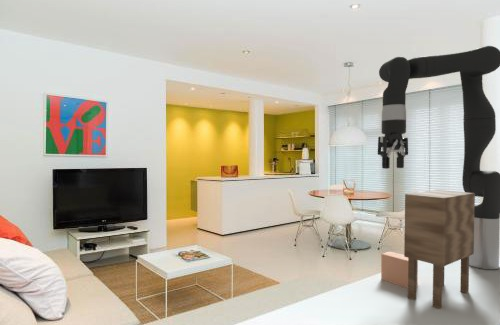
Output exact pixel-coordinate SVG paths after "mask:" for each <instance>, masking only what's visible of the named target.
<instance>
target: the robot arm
mask: <svg viewBox="0 0 500 325" xmlns="http://www.w3.org/2000/svg"><path fill="white" fill-rule="evenodd" d="M498 68H500V49H499V48H497V47H496V46H493V45H485V46H480V47H477V48H475V49H472V50H467V51H462V52H455V53H447V54H434V55H432V54H431V55H424V56H417V57H413V58H409V59H407V58H406V57H404V56H401V55H400V56H396V57H394V58H391V59H390V60H388V61H386V62H384V63H383V64H382V65H381V66H380V68H379V69H378V75H379V78H380V80H382V81H384V82H385V83H388V84H387V87H386V88H385V89H384V90H383V92H382V110H381V134H382V135H384V136H378V138H377V155H379V156H380V157H381V159H382V160H381V167H382V169H385V170H386V169H390V165H391V164H390V163H391V162H390V158H391V157H390V156H391V153H392V152H394V153H395V154H396V168H397V169H404V167H405V157H406V156H408V155H409V138H408V137H403V135H404V134H406V133H407V108H406V98H407V97H406V95H407V94H406V91H407V89H408V85H409V82H410V80H412V79H425V78H426V79H427V78H433V77H440V76H444V75H448V74H454V73H459V75H460V76H459V77H460V83H461V89H462V90H461V91H462V104H463V105H462V106H463V108H462V109H463V119H462V120H463V122H462V123H463V140H464V142H463V144H464V146H463V147H464V148H463V149H464V150H463V152H464V154H463V165H462V166H463V167H462V188H463V191H464V192H467V193H475V197H478V198H479V197H481V198H482V201H481V203H480V204H477V205H474V254H472V255H470V256H469V266H471V267H474V268H477V269H483V270H497V269H499V268H500V172H499V171H496V170H481V160H482V157H483V154H484V152H485V150H486V149H487V148H488V146H489V145H490V143H491V142H492V140H493V138H494V136H495V134H496V131H497V130H496V128H497V127H496V112H495V109H494V107H493V105H492V104H491V102H490V100H489V99H488V98H487V96H486V94H485V91H484V85H483V84H484V83H483V76H485V75H488V74H491V73H492V72H493V73H494V72H495V71H496V70H497V69H498Z"/></svg>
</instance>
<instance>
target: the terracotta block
mask: <svg viewBox="0 0 500 325" xmlns="http://www.w3.org/2000/svg"><path fill="white" fill-rule="evenodd" d="M380 261H381V265H380V266H381V271H380V272H381V275H380V276H381V277H380V278H381V280H383V281H386V282H389V283H393V284H395V285H398V286H401V287H404V288H407V289H408V257H404V254H402V253H397V252H394V251H387V252H383V253H381V260H380ZM418 261H419V260H417V281H416V286H418V284H419V282H418V280H419V277H418V271H419V270H418V269H419V268H418V267H419V265H418V263H419V262H418Z"/></svg>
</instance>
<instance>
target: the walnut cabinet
mask: <svg viewBox="0 0 500 325" xmlns="http://www.w3.org/2000/svg"><path fill="white" fill-rule="evenodd" d="M475 198H476V196H475V193H467V192H465V191H464V192H463V191H452V190H442V189H441V190H440V189H435V190H434V189H433V190H428V191H420V192H419V191H418V192H413V193H412V192H411V193H405V194H404V244H403V245H404V247H403V248H404V249H403V250H404V253H403V255H404V257H408V288H407V299H411V300H412V301H413V300H416V299H417V285H416V281H417V260H418V261H420V262H424V263H428V264H430V265H431V264H432V267H433V268H432V269H433V270H432V272H433V273H432V308H436V309H441V308H442V307H443V306H442V304H443V303H442V302H443V286H444V285H445V267H446V266H447V265H451V264H453V263H455V262H458V261H460V289H459V290H460V293H464V294H467V293H469V290H470V289H469V288H470V287H469V286H470V284H469V282H470V265H469V256H470V255H472V254H474V206H475V201H476V199H475Z"/></svg>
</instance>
